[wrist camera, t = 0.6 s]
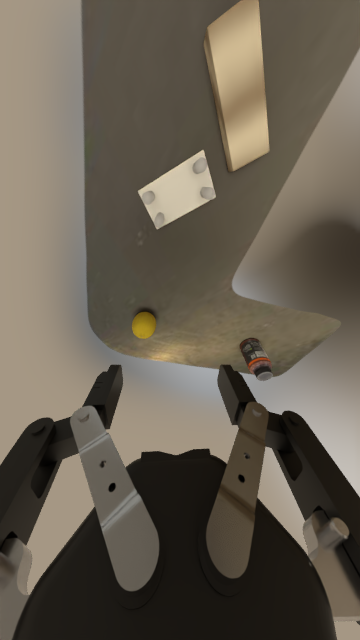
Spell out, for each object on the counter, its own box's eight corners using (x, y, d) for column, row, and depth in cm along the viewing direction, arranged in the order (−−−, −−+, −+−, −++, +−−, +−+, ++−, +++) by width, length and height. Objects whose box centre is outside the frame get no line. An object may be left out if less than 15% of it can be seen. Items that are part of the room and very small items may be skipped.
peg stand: (138, 190, 27) (131, 192, 23) (202, 150, 24) (209, 143, 20) (157, 228, 31) (154, 236, 26) (214, 196, 28) (223, 199, 23)
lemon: (149, 302, 41) (145, 323, 35) (161, 317, 44) (159, 340, 38) (130, 311, 42) (123, 333, 36) (143, 325, 46) (139, 348, 39)
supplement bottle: (251, 352, 54) (266, 384, 46) (235, 348, 53) (248, 381, 44) (263, 340, 51) (282, 372, 42) (246, 335, 49) (262, 368, 41)
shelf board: (203, 45, 19) (207, 27, 17) (246, 12, 18) (257, -13, 16) (228, 172, 26) (233, 171, 24) (260, 154, 25) (269, 151, 23)
